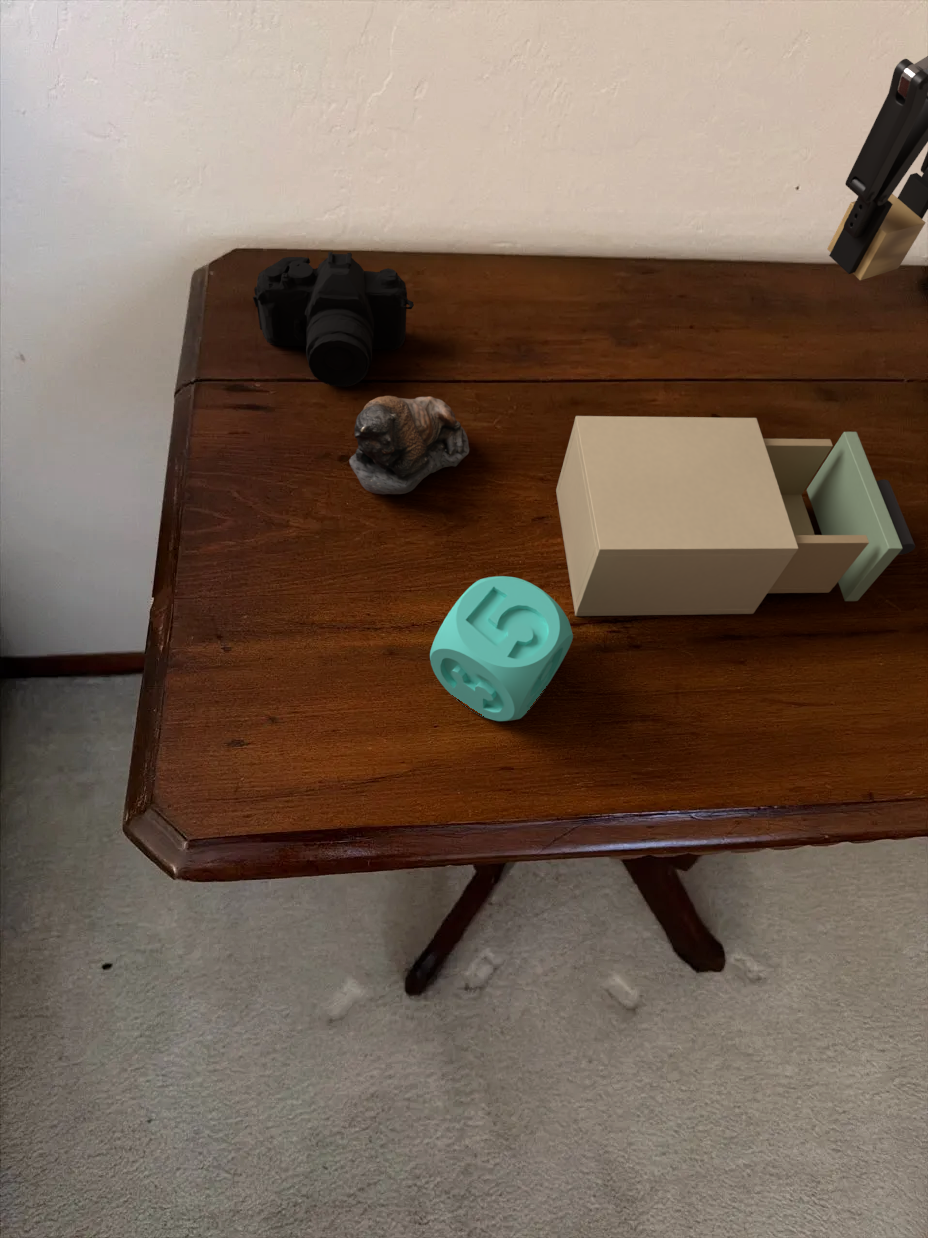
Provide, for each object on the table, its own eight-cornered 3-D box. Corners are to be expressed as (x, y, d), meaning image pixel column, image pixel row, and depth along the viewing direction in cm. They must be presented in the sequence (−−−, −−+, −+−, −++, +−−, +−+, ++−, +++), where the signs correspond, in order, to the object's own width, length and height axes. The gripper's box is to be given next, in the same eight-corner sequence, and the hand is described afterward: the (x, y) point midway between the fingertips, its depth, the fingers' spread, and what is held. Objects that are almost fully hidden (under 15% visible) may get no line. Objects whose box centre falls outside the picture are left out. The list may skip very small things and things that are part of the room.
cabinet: (719, 490, 83) (756, 417, 74) (753, 614, 76) (798, 548, 67) (555, 490, 81) (575, 415, 73) (575, 616, 74) (599, 549, 66)
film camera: (253, 387, 84) (241, 310, 77) (262, 318, 89) (251, 240, 82) (411, 393, 86) (415, 318, 78) (411, 325, 91) (415, 249, 83)
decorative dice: (482, 613, 73) (493, 557, 67) (563, 665, 71) (583, 613, 65) (425, 681, 70) (431, 629, 63) (509, 737, 68) (524, 690, 61)
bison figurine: (430, 417, 84) (436, 334, 76) (483, 459, 82) (496, 378, 74) (336, 483, 79) (331, 401, 71) (390, 529, 77) (392, 451, 68)
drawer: (858, 489, 83) (900, 431, 76) (901, 600, 77) (950, 548, 70) (668, 489, 81) (694, 429, 74) (695, 603, 75) (726, 549, 68)
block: (864, 237, 81) (890, 190, 77) (898, 268, 79) (926, 222, 75) (826, 249, 79) (850, 201, 75) (860, 280, 77) (886, 234, 73)
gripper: (979, -2, 54) (816, 307, 74) (1159, -38, 60) (963, 259, 80) (897, -57, 58) (762, 254, 77) (1075, -86, 63) (907, 211, 83)
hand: (864, 256), depth 79 cm, fingers closed on block, 5 cm apart
